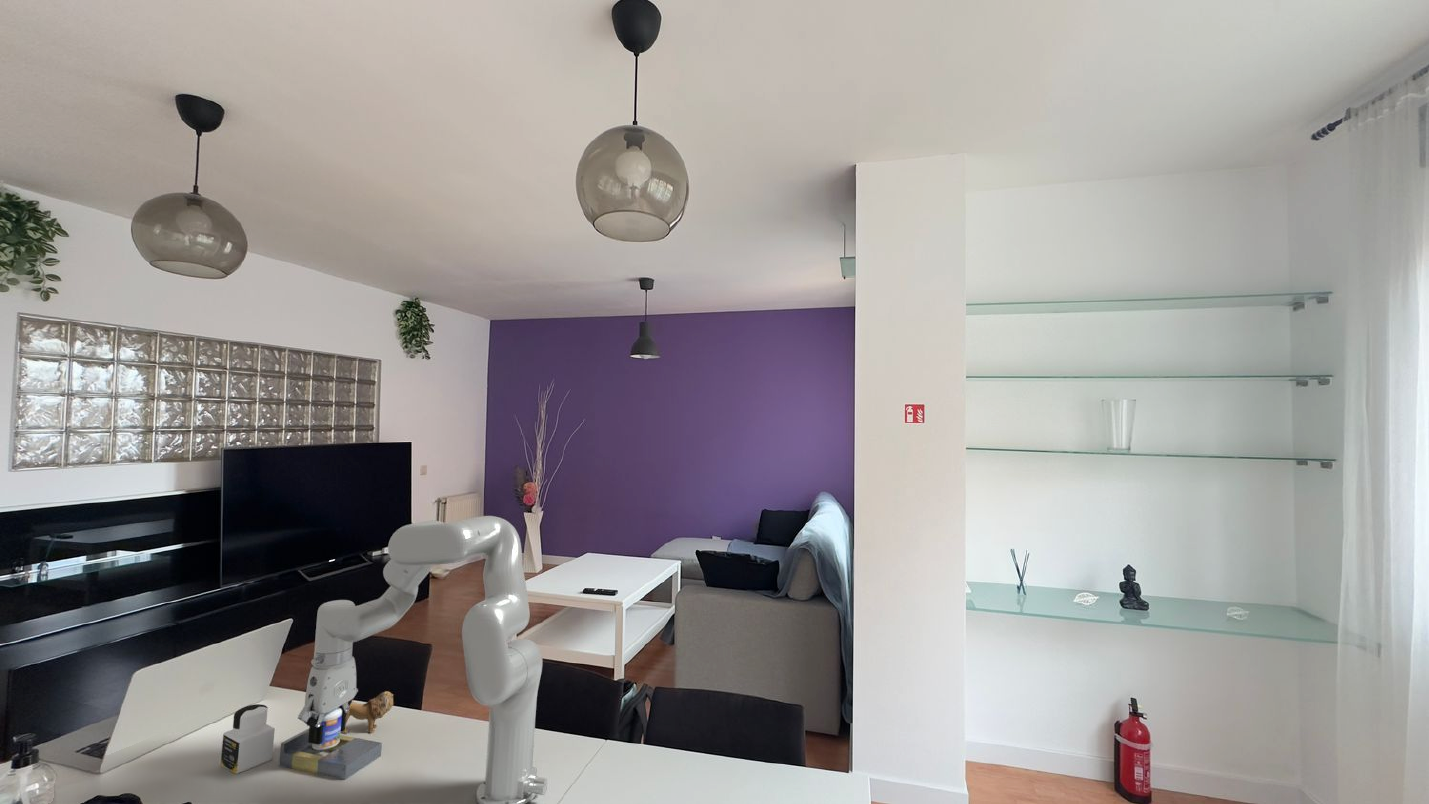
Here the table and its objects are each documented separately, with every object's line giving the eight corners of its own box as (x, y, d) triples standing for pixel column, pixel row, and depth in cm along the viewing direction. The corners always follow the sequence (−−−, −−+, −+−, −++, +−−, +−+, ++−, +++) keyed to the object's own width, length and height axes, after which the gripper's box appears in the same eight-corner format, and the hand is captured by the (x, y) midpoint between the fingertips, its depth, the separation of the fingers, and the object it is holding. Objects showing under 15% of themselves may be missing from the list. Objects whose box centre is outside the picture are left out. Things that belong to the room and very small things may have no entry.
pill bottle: (326, 752, 132) (329, 707, 132) (305, 749, 133) (309, 704, 133) (345, 740, 137) (348, 697, 138) (326, 737, 138) (329, 694, 139)
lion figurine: (394, 722, 153) (397, 687, 154) (388, 732, 148) (390, 696, 148) (331, 726, 149) (334, 690, 150) (322, 737, 144) (325, 700, 145)
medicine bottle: (219, 765, 131) (224, 710, 132) (256, 750, 137) (261, 698, 138) (235, 774, 128) (240, 718, 128) (272, 759, 134) (277, 705, 135)
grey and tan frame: (380, 756, 137) (382, 734, 137) (345, 779, 127) (347, 755, 128) (318, 743, 141) (320, 722, 142) (279, 765, 132) (281, 742, 132)
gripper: (313, 672, 127) (306, 758, 126) (375, 645, 144) (370, 721, 142) (285, 667, 129) (278, 752, 128) (350, 642, 145) (344, 717, 144)
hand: (327, 735), depth 135 cm, fingers closed on pill bottle, 5 cm apart
